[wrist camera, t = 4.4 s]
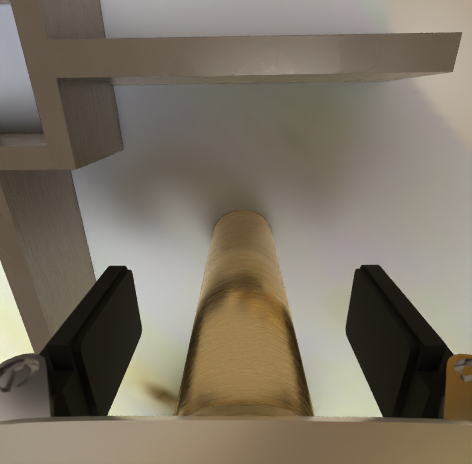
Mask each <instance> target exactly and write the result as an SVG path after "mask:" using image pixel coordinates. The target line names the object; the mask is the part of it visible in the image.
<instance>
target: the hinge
mask: <svg viewBox="0 0 472 464" xmlns="http://www.w3.org/2000/svg"><path fill="white" fill-rule="evenodd" d="M0 4H11V6H12V10H13V14H14V18H15V22H16V26H17V30H18V33H19V37H20V41H21V45H22V49H23V53H24V57H25V61H26V65H27V69H28V73H29V77H30V81H31V85H32V88H33V92H34V96H35V100H36V104H37V108H38V112H39V116H40V120H41V124H42V128H43V132H44V133H29V134H0V260H1V263H2V266H3V269H4V271H5V274H6V277H7V279H8V282H9V285H10V288H11V290H12V293H13V296H14V298H15V301H16V304H17V307H18V309H19V312H20V315H21V317H22V320H23V323H24V326H25V328H26V331H27V334H28V336H29V339H30V342H31V345H32V347H33V350H34V353H35V354H39V353H40V352H41V351H42V350H43V348H44V347H45V346H46V344H47V343H48V342H49V340H50V339H51V338H52V337H53V335H54V334H55V333H56V332H57V330H58V329H59V328H60V327H61V325H62V324H63V323H64V322H65V320H66V319H67V318H68V317H69V315H70V314H71V313H72V312H73V310H74V309H75V308H76V307H77V305H78V304H79V303H80V302H81V300H82V299H83V298H84V297H85V295H86V294H87V293H88V292H89V290H90V289H91V288H92V287H93V285H94V284H95V283H96V280H95V276H94V271H93V267H92V263H91V259H90V254H89V250H88V246H87V241H86V237H85V233H84V228H83V224H82V220H81V216H80V211H79V207H78V203H77V198H76V194H75V190H74V185H73V181H72V177H71V173H70V170H71V169H79V168H81V167H83V166H86V165H88V164H90V163H93V162H95V161H98V160H100V159H102V158H105V157H107V156H110V155H112V154H114V153H117V152H119V151H122V150H123V146H122V140H121V133H120V127H119V121H118V114H117V108H116V102H115V95H114V89H113V85H150V84H216V83H283V82H349V81H389V80H397V79H404V78H411V77H419V76H426V75H434V74H441V73H448V72H453V69H454V64H455V60H456V56H457V51H458V48H459V44H460V40H461V35H462V32H456V33H400V34H344V35H288V36H232V37H176V38H120V39H105V32H104V26H103V20H102V13H101V7H100V1H99V0H0Z"/></svg>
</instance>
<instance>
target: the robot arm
mask: <svg viewBox="0 0 472 464" xmlns="http://www.w3.org/2000/svg"><path fill="white" fill-rule="evenodd" d="M141 333H142V325H141V320H140V314H139V308H138V302H137V297H136V291H135V285H134V279H133V274H132V271H131V270H128V269H127V267H126V266H109V267H108V268H107V269H106V270H105V271H104V273H103V274H102V275H101V277H100V278H99V279H98V280H97V282H96V283H95V284H94V285H93V287H92V288H91V289H90V290H89V292H88V293H87V294H86V295H85V297H84V298H83V299H82V300H81V302H80V303H79V304H78V305H77V307H76V308H75V309H74V310H73V312H72V313H71V314H70V315H69V317H68V318H67V319H66V320H65V322H64V323H63V324H62V325H61V327H60V328H59V329H58V330H57V332H56V333H55V334H54V335H53V337H52V338H51V339H50V340H49V342H48V343H47V344H46V346H45V347H44V348H43V350H42V351H41V352H40V353H39V354H34V353H31V354H23V355H19V356H15V357H13V358H11V359H8V360H6V361H4V362H3V363H1V364H0V464H472V355H468V354H457V355H454V354H453V353H452V352H451V351H450V350H449V348H448V347H447V345H446V344H445V343H444V341H443V340H442V339H441V338H440V337H439V335H438V334H437V333H436V332H435V331H434V330H433V328H432V327H431V326H430V325H429V324H428V322H427V321H426V320H425V319H424V318H423V316H422V315H421V314H420V313H419V312H418V311H417V309H416V308H415V307H414V306H413V305H412V303H411V302H410V301H409V300H408V299H407V297H406V296H405V295H404V294H403V293H402V292H401V290H400V289H399V288H398V287H397V286H396V284H395V283H394V282H393V281H392V280H391V279H390V277H389V276H388V275H387V274H386V273H385V271H384V270H383V269H382V268H381V267H380V266H379V265H361V267H360V269H356V270H355V274H354V280H353V286H352V292H351V298H350V304H349V310H348V316H347V322H346V335H347V338H348V340H349V342H350V345H351V347H352V349H353V351H354V353H355V356H356V358H357V360H358V362H359V365H360V367H361V369H362V371H363V373H364V376H365V378H366V380H367V382H368V384H369V387H370V389H371V391H372V393H373V396H374V398H375V400H376V402H377V404H378V407H379V409H380V411H381V413H382V416H383V417H310V416H107V415H108V412H109V410H110V408H111V405H112V403H113V401H114V398H115V396H116V394H117V391H118V389H119V387H120V384H121V382H122V379H123V377H124V375H125V372H126V370H127V368H128V365H129V363H130V361H131V358H132V356H133V354H134V351H135V349H136V346H137V344H138V342H139V339H140V337H141Z"/></svg>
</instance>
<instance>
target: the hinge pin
mask: <svg viewBox="0 0 472 464" xmlns="http://www.w3.org/2000/svg"><path fill="white" fill-rule="evenodd" d="M174 416H310V417H315V416H314V411H313V407H312V403H311V399H310V394H309V390H308V386H307V381H306V377H305V373H304V369H303V364H302V360H301V356H300V352H299V347H298V343H297V339H296V334H295V330H294V326H293V322H292V317H291V313H290V309H289V304H288V300H287V296H286V292H285V287H284V283H283V279H282V275H281V270H280V266H279V262H278V257H277V253H276V249H275V245H274V240H273V236H272V232H271V228H270V226H269V224H268V223H267V221H266V220H265V219H264V218H263V217H262V216H260V215H259V214H257V213H255V212H252V211H248V210H237V211H233V212H230V213H228V214H226V215H225V216H223V217H222V218H221V219H220V220H219V221H218V222H217V224H216V226H215V228H214V231H213V235H212V240H211V245H210V249H209V254H208V259H207V264H206V268H205V273H204V278H203V283H202V287H201V292H200V297H199V302H198V306H197V311H196V316H195V321H194V325H193V330H192V335H191V340H190V344H189V349H188V354H187V359H186V363H185V368H184V373H183V378H182V382H181V387H180V392H179V396H178V401H177V406H176V411H175V415H174Z"/></svg>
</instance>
